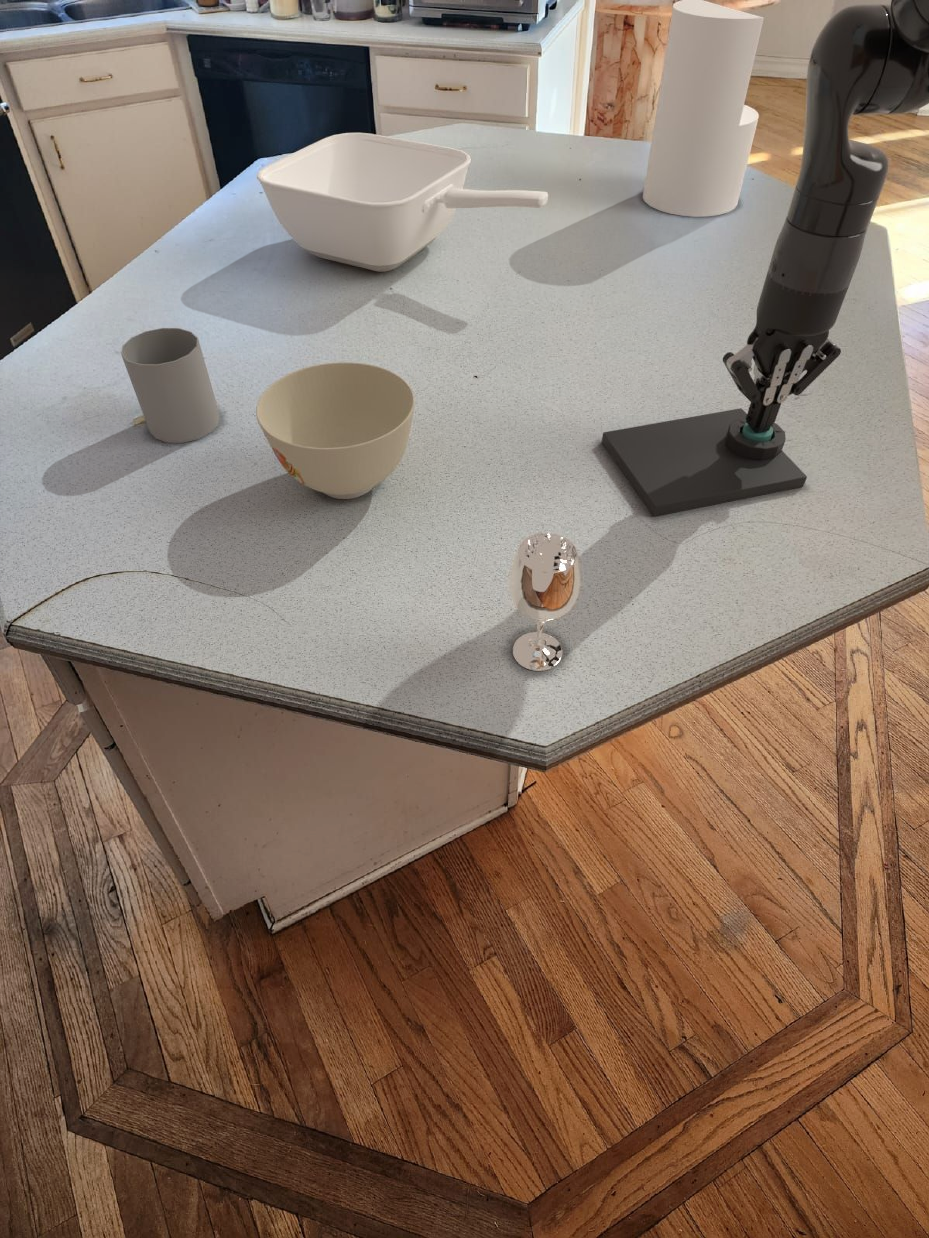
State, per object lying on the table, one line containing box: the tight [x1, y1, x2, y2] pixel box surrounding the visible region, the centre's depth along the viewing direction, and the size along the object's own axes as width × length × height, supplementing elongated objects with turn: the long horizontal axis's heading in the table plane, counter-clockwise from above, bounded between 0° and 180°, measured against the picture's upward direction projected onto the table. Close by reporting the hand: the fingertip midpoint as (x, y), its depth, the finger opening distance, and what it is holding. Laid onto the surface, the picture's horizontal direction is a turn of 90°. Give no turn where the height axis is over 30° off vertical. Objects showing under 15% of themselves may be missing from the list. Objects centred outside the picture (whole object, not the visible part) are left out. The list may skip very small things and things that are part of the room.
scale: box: [601, 407, 808, 517], centre depth 85 cm, size 19×14×3 cm
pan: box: [256, 132, 549, 273], centre depth 118 cm, size 27×44×13 cm, turn 61°
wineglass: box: [508, 532, 582, 672], centre depth 63 cm, size 6×6×12 cm
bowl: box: [255, 361, 416, 500], centre depth 80 cm, size 16×16×10 cm
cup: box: [120, 327, 221, 444], centre depth 88 cm, size 8×8×10 cm
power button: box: [741, 423, 773, 442], centre depth 85 cm, size 3×3×2 cm
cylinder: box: [642, 0, 765, 218], centre depth 130 cm, size 17×17×28 cm
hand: (757, 428), depth 85 cm, fingers closed
